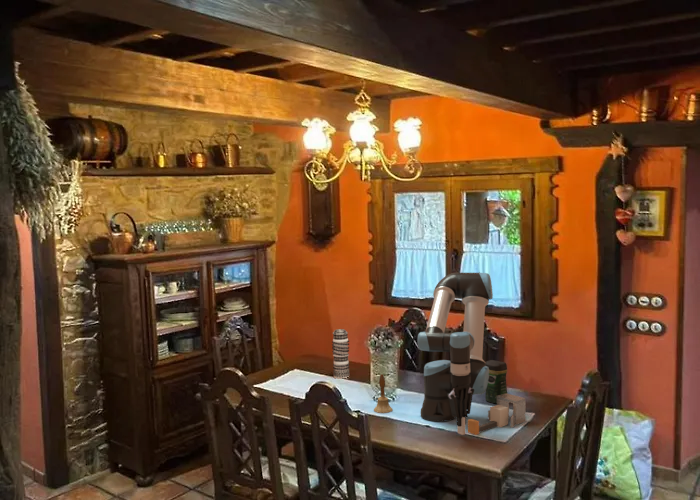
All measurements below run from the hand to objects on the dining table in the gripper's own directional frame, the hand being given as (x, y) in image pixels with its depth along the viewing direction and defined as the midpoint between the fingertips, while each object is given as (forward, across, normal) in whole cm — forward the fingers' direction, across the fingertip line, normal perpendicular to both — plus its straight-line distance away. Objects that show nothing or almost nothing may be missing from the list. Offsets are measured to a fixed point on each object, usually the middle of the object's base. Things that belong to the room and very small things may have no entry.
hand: (461, 433), depth 257 cm
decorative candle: (+2, +21, +104) cm, 106 cm away
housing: (+1, +28, 0) cm, 28 cm away
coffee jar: (+2, +46, +21) cm, 50 cm away
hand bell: (+2, 0, +46) cm, 46 cm away
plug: (+1, +15, 0) cm, 15 cm away
